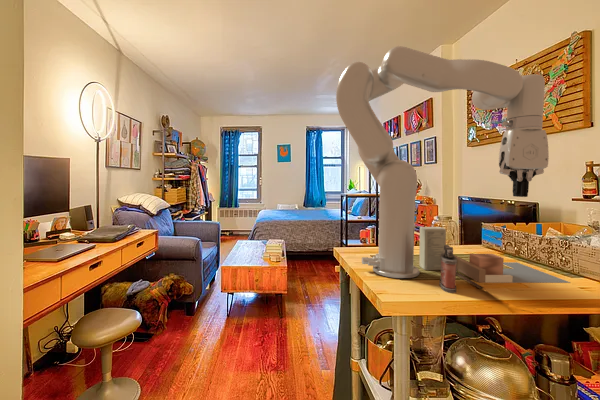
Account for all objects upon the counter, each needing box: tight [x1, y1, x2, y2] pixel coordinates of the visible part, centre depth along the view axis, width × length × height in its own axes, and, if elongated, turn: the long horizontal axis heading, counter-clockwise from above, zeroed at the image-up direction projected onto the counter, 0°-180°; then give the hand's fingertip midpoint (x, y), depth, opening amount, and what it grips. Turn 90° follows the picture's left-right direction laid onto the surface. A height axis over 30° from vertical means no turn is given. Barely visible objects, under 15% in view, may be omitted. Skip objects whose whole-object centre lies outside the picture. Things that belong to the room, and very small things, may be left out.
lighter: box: [439, 244, 458, 294], centre depth 73 cm, size 8×3×10 cm, turn 163°
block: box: [468, 253, 505, 275], centre depth 77 cm, size 6×4×5 cm
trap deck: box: [453, 254, 571, 289], centre depth 81 cm, size 22×18×4 cm
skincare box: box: [418, 226, 447, 271], centre depth 88 cm, size 6×4×12 cm
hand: (520, 196), depth 78 cm, fingers closed
